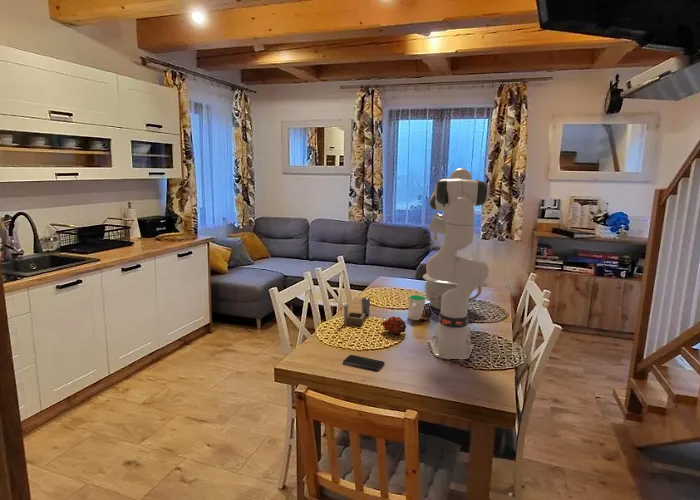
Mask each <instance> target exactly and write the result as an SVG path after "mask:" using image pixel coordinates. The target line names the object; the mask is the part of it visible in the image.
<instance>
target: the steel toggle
mask: <svg viewBox="0 0 700 500" xmlns="http://www.w3.org/2000/svg"><path fill="white" fill-rule="evenodd" d="M370 305H371V298H370V297H365V296H363V297H362V298H361V313H365V318H369V317H370V313H371V312H370V311H371V310H370V308H371V306H370Z"/></svg>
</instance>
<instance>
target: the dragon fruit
mask: <svg viewBox="0 0 700 500" xmlns="http://www.w3.org/2000/svg"><path fill="white" fill-rule="evenodd" d="M381 326H383V330H384V331H386V332H389V331H390V332H389V334H390V335H394V334H395V335H400V334H401V333H405V332H406V329H407V324H406V322H405V321H404V320H403V319H402V318H401V317H400V316H394V315H393V316H391V317H389V318H388V319H386V320H385V321H382V323H381Z"/></svg>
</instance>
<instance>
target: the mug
mask: <svg viewBox="0 0 700 500" xmlns="http://www.w3.org/2000/svg"><path fill="white" fill-rule="evenodd" d="M424 306H425V307H426V296H423V295H418V294H415V295H414V294H412V295H410V296H408V309H407V310H408V313H407V317H408V319H410V320H412V321H420V320H419V318H420V317H421V314H422V313H423V310H424ZM424 311H425V310H424Z"/></svg>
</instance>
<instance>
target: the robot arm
mask: <svg viewBox="0 0 700 500" xmlns="http://www.w3.org/2000/svg"><path fill="white" fill-rule="evenodd" d="M488 197H489V188H488V185H487V183H486V182H484V181H482V180H479V179H478V178H477V179H473V177H472V173H471V172H470V171H469V170H468V169H466V168H457V169H455V170H453V171H452V172H451V174H450V175H449V177H448V178H444V179H439V180H438V181H437V182H436V185H435V187H434V191H433V193H432V194H431V195H430V198H429V206H430V208H431V209H433V210H436V211H440V212H443V215H442V214H440V213H435V214H433V216H432V220H431V222H430V223H429V230H431V231H433V240H434V241H438V239H439V237H438V233H439V234H441V235H443V236H444V240H443V243H442V246H441V247H440V249H439V250H438V251H437V252H435V254H433V255H432V256H430V257H429V258H428V260H427V262H426V264H425V269H426V270H425V271H426V273H427V274H428V275H429V277H431V278H433V279H436V280H439V281H446V282H454V283H457V288H455V289H452V290H449V291H447V292H445V293H444V294H443V295H442V298H441V310H440V312H439V314H438V322H437V323H435V324H434V334H433V339H429V341H428V342H429V346H430V348H431V352H432V354H433V356H434V357H436V358H440V359H443V360H444V359H445V360H450V359H463V358H469V356H470V354H471V355H472V353H473V351H472V349H473V347H474V348H475V345H474V344H473V343H472V339H471V337H472V333H471V327H470V326H469V325H468V322H469V315H468V309H469V303H470V302H469V298H471V296H472V294H473V292H474V291H475V290H476V289H477V288H478V286H480V285H483V284H484V283H486V281H487V280H488V278H489V275H490V269H489V266H488V264H487V263H486V261H484V260H481V259H477V258H475V257H474V258H472V257H464V256H458V255H457V254H458V252H459V251H461V250H464V249H466V248H468V247H469V246H471V245H472V244H473V241H474V231H475V230H474V229H475V208H474V206H475V207H477V206H483V205H484V204H485V203H486V202H487V200H488V199H489V198H488ZM468 302H469V303H468ZM470 346H472V347H470ZM473 350H474V349H473ZM471 352H472V353H471ZM460 357H463V358H460ZM470 357H471V356H470ZM469 359H470V358H469Z"/></svg>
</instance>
